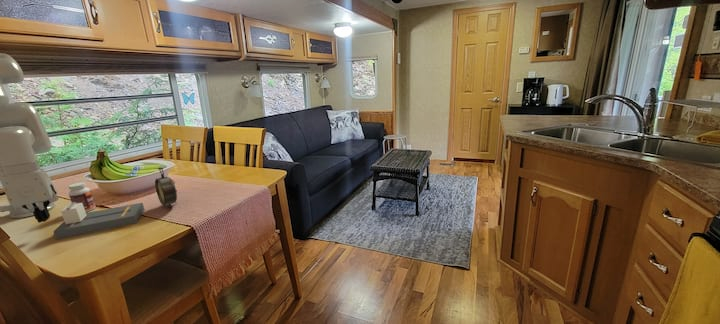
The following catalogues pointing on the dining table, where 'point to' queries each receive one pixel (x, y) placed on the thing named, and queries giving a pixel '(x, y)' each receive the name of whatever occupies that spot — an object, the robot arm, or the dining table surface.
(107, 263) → the dining table surface
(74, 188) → the pill bottle
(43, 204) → the robot arm
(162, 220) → the dining table surface
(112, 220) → the fader console
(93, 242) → the dining table surface
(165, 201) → the alarm clock
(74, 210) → the fader knob
